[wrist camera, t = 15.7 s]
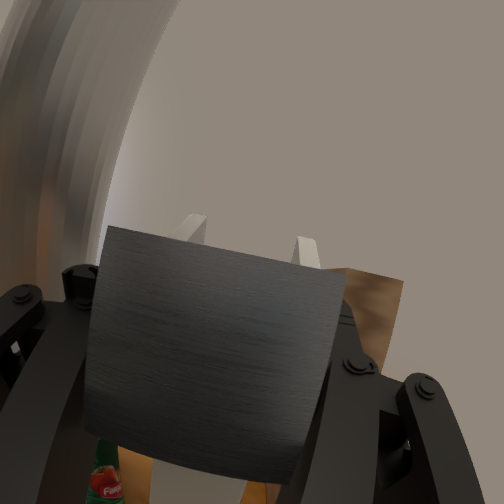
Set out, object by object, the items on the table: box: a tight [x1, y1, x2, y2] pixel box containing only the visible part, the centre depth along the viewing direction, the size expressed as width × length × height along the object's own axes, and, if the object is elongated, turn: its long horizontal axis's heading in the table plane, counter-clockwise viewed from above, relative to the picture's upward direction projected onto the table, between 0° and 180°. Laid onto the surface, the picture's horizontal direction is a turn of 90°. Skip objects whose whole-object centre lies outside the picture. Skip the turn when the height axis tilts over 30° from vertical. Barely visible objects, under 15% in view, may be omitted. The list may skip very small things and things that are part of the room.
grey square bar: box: [84, 225, 347, 485], centre depth 16 cm, size 4×24×4 cm, turn 179°
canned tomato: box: [86, 439, 125, 504], centre depth 18 cm, size 8×8×11 cm
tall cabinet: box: [266, 268, 403, 504], centre depth 32 cm, size 7×14×30 cm, turn 0°
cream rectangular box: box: [149, 458, 248, 504], centre depth 18 cm, size 6×12×22 cm, turn 0°
